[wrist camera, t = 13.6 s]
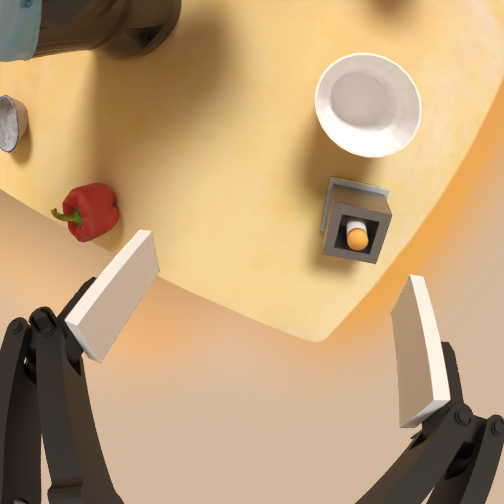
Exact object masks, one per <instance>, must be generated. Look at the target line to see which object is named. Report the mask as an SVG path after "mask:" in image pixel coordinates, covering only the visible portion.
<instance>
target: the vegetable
mask: <svg viewBox="0 0 504 504" xmlns="http://www.w3.org/2000/svg"><path fill="white" fill-rule="evenodd" d="M114 201H115V195H114V192H113V191H112V190H111V189H110V188H109V187H107V186H106V185H104V184H100V183H94V184H90V185H85V186H81V187H77V188H74V189H73V190H71V191H70V193H69V194H68V196H67V197H66V198H65V200H64V201H63V212H64V214H60V213H57V212H56V211H57V209H56V208H55V209H54V210H51V213H52V214H53V216H54V217H56V218H57V219H59V220H62V221H68V228H69V230H70V232H71V233H72V234H73V235H74V236H75V237H76V239H77V240H78V241H80V242H86V241H90V240H92V239H94V238H96V237H99V236H101V235H103V234H104V233H106V232H107V231H109V230H110V229H112V228H113V227H114V226H115V224H116V223H117V221H118V216H119V210H118V209H117V207H116V206H115V205H114Z"/></svg>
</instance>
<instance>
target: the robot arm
mask: <svg viewBox="0 0 504 504" xmlns="http://www.w3.org/2000/svg"><path fill="white" fill-rule="evenodd" d="M180 8H181V0H0V61H3V62H10V61H16V60H24V61H26V60H29V59H31V58H36V57H41V56H47V55H53V54H59V53H66V52H73V51H83V50H90V51H92V52H95V53H97V54H99V55H102V56H104V57H107V58H110V59H116V60H122V59H134V58H138V57H141V56H143V55H146V54H148V53H149V52H151V51H152V50H154V49H155V48H157V47H158V46H159V45H160V44H161V43H162V42H163V41H164V40H165V39H166V38H167V36H168V35H169V34H170V32H171V31H172V29H173V27H174V26H175V24H176V21H177V19H178V16H179V13H180ZM159 272H160V269H159V264H158V260H157V255H156V250H155V245H154V239H153V234H152V231H147V230H141V229H140V230H139V231H138V232H137V233H136V234H135V235H134V236H133V238H132V239H131V240H130V241H129V242H128V243H127V244H126V245H125V246H124V248H123V249H122V250H121V251H120V252H119V253H118V254H117V256H116V257H115V258H114V259H113V260H112V261H111V263H110V264H109V265H108V266H107V267H106V268H105V270H104V271H103V272H102V273H101V274H100V275H99V277H98V278H95V277H92V278H91V279H89V280H88V281H86V282H85V283H84V284H83V285H82V286H81V288H80V289H79V290H78V292H77V293H76V294H75V295H74V297H73V298H72V299H71V300H70V301H69V303H68V304H67V305H66V306H65V308H64V309H63V310H62V312H61V313H60V314H59V315H58V317H57V318H56V316H55V315H54V313H53V312H52V310H51V309H50V308H49V307H46V306H45V307H40V308H38V309H36V310H35V311H34V312H32V314H31V315H30V317H29V323H30V324H31V325H29V324H28V322H27V321H26V320H25V319H24V318H21V317H19V318H16V319H14V320H13V321H11V323H10V324H9V326H8V327H7V330H6V333H5V336H4V340H3V343H2V346H1V349H0V504H41V434H42V437H43V443H44V448H45V454H46V459H47V464H48V468H49V473H50V477H51V481H52V485H51V487H50V488H49V489H48V493H47V495H48V500H49V504H124V502H123V501H122V499H121V498H120V496H119V495H118V494H117V493H116V491H115V490H114V487H113V484H112V482H111V479H110V476H109V473H108V470H107V467H106V464H105V461H104V457H103V454H102V450H101V447H100V443H99V439H98V436H97V432H96V428H95V423H94V419H93V415H92V410H91V405H90V401H89V395H88V390H87V384H86V378H85V371H84V364H83V359H82V356H81V355H82V353H83V352H85V353H86V355H87V356H88V358H90V359H92V360H94V361H97V362H99V363H102V361H103V359H104V358H105V356H106V354H107V353H108V351H109V349H110V348H111V346H112V344H113V343H114V341H115V340H116V338H117V336H118V335H119V333H120V331H121V330H122V328H123V327H124V325H125V324H126V322H127V320H128V319H129V317H130V316H131V314H132V312H133V311H134V309H135V308H136V306H137V305H138V303H139V302H140V300H141V299H142V297H143V296H144V294H145V293H146V291H147V290H148V288H149V287H150V285H151V284H152V282H153V281H154V279H155V278H156V276H157V275H158V273H159ZM391 315H392V323H393V330H394V339H395V347H396V359H397V370H398V387H399V415H400V428H415V427H417V426H418V425H419V424H421V423H422V430H421V431H419V432H418V433H416V434H415V435H413V436H412V437H411V439H413V438H414V440H413V441H412V442H411V443H410V445H409V446H408V447H407V449H406V450H405V451H404V452H403V453H402V454H401V456H400V457H399V458H398V459H397V460H396V462H395V463H394V464H393V465H392V466H391V467H390V468H389V470H388V471H387V472H386V473H385V474H384V475H383V476H382V477H381V478H380V479H379V480H378V481H377V482H376V484H375V485H374V486H373V487H372V488H371V489H370V490H369V491H368V492H367V493H366V494H365V495H363V496H362V498H360V499H359V500H358V501H357V502H356V503H355V504H421V503H422V502H423V501H424V499H425V498H426V497H427V495H428V494H429V493H430V491H431V490H432V489H433V487H434V486H435V487H434V489H433V491H432V493H431V495H430V497H429V499H428V501H427V503H426V504H485V502H486V499H487V497H488V494H489V491H490V488H491V486H492V483H493V480H494V477H495V473H496V470H497V467H498V463H499V460H500V456H501V452H502V448H503V444H504V419H503V418H502V417H501V416H500V415H492V416H491V417H489V418H488V419H484V418H481V417H478V416H475V415H473V413H472V410H471V409H470V407H469V406H468V405H466V404H464V401H463V396H462V389H461V383H460V377H459V372H458V367H457V364H456V358H455V353H454V351H453V349H452V347H451V345H450V344H449V342H440V337H439V333H438V329H437V325H436V321H435V317H434V313H433V309H432V305H431V302H430V298H429V295H428V292H427V288H426V285H425V281H424V278H423V277H422V276H416V275H410V276H409V278H408V280H407V282H406V284H405V286H404V288H403V290H402V293H401V294H400V296H399V298H398V300H397V302H396V304H395V306H394V308H393V310H392V312H391ZM25 358H26V362H25V364H24V360H25Z"/></svg>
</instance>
